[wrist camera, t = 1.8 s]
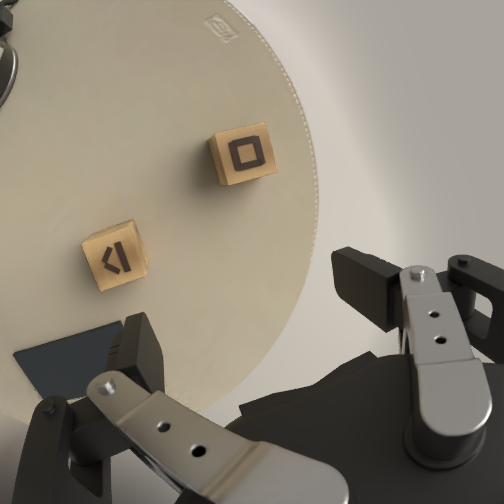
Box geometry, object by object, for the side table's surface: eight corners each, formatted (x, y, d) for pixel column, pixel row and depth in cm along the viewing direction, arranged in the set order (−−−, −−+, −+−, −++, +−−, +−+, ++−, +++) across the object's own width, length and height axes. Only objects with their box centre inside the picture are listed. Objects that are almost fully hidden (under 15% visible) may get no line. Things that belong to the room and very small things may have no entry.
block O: (207, 139, 26) (214, 133, 22) (252, 128, 26) (266, 121, 23) (219, 184, 27) (228, 186, 23) (263, 172, 28) (278, 172, 24)
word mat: (14, 352, 25) (12, 354, 24) (120, 320, 28) (119, 322, 27) (47, 400, 27) (46, 403, 27) (151, 377, 30) (151, 380, 30)
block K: (92, 234, 25) (80, 244, 21) (133, 218, 26) (127, 226, 22) (108, 276, 26) (100, 292, 22) (149, 262, 27) (146, 276, 23)
